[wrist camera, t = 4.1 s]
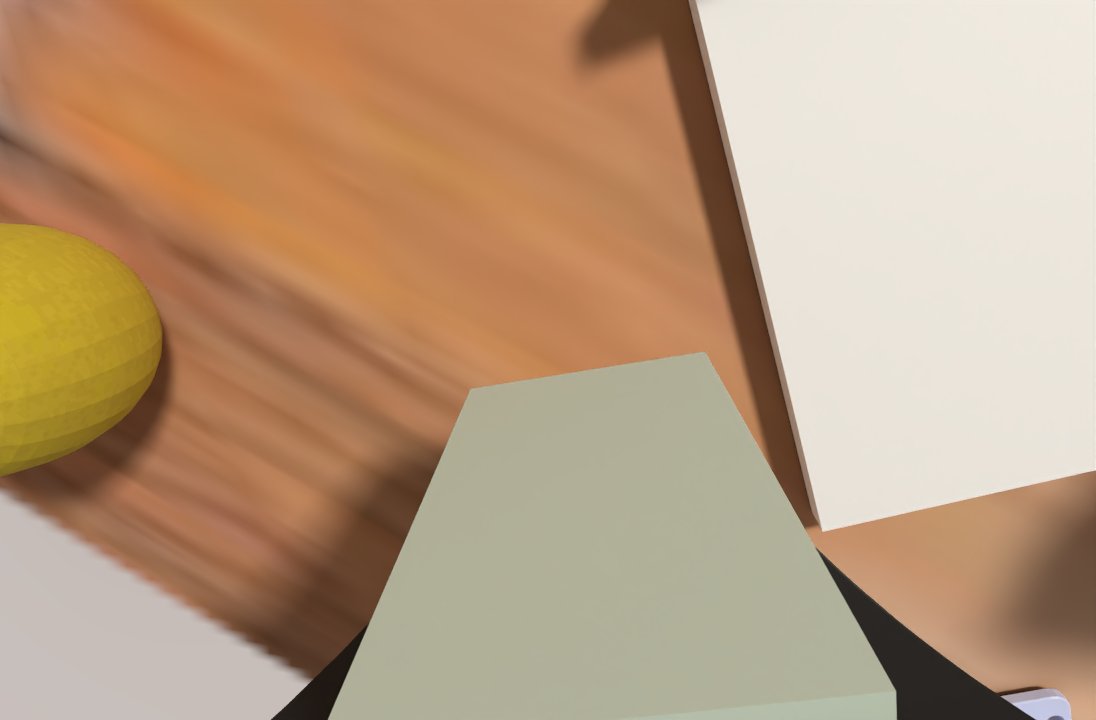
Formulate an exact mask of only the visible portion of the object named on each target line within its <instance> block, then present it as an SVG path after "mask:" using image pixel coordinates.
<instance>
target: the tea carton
mask: <svg viewBox="0 0 1096 720" xmlns="http://www.w3.org/2000/svg"><path fill="white" fill-rule="evenodd" d="M328 720H897V707H896V690H895V688H894V686H893V685H892V683H891V681H890V679H889V678H888V676H887V674H886V672H885V671H884V669H883V667H882V665H881V663H880V662H879V660H878V658H877V656H876V655H875V653H874V651H873V649H872V647H871V646H870V644H869V642H868V640H867V639H866V637H865V635H864V633H863V631H862V630H861V628H860V626H859V624H858V623H857V621H856V619H855V617H854V615H853V614H852V612H851V610H850V608H849V607H848V605H847V603H846V601H845V599H844V598H843V596H842V594H841V592H840V591H839V589H838V587H837V585H836V583H835V582H834V580H833V578H832V576H831V575H830V573H829V571H828V569H827V567H826V566H825V564H824V562H823V560H822V559H821V557H820V555H819V553H818V551H817V550H816V548H815V546H814V544H813V543H812V541H811V539H810V537H809V535H808V534H807V532H806V530H805V528H804V527H803V525H802V523H801V521H800V519H799V518H798V516H797V514H796V512H795V511H794V509H793V507H792V505H791V503H790V502H789V500H788V498H787V496H786V495H785V493H784V491H783V489H782V488H781V486H780V484H779V482H778V480H777V479H776V477H775V475H774V473H773V472H772V470H771V468H770V466H769V464H768V463H767V461H766V459H765V457H764V456H763V454H762V452H761V450H760V448H759V447H758V445H757V443H756V441H755V440H754V438H753V436H752V434H751V432H750V431H749V429H748V427H747V425H746V424H745V422H744V420H743V418H742V416H741V415H740V413H739V411H738V409H737V408H736V406H735V404H734V402H733V400H732V399H731V397H730V395H729V393H728V392H727V390H726V388H725V386H724V384H723V383H722V381H721V379H720V377H719V376H718V374H717V372H716V370H715V368H714V367H713V365H712V363H711V361H710V360H709V358H708V356H707V354H706V352H699V353H693V354H687V355H681V356H674V357H668V358H662V359H655V360H649V361H643V362H637V363H630V364H624V365H618V366H611V367H605V368H599V369H593V370H586V371H580V372H574V373H567V374H561V375H555V376H549V377H542V378H536V379H530V380H523V381H517V382H511V383H505V384H498V385H492V386H486V387H480V388H473V389H470V392H469V394H468V396H467V399H466V401H465V403H464V406H463V408H462V410H461V413H460V415H459V417H458V419H457V422H456V424H455V426H454V429H453V431H452V433H451V436H450V438H449V440H448V443H447V445H446V447H445V450H444V452H443V454H442V457H441V459H440V461H439V463H438V466H437V468H436V470H435V473H434V475H433V477H432V480H431V482H430V484H429V487H428V489H427V491H426V494H425V496H424V498H423V501H422V503H421V505H420V507H419V510H418V512H417V514H416V517H415V519H414V521H413V524H412V526H411V528H410V531H409V533H408V535H407V538H406V540H405V542H404V545H403V547H402V549H401V551H400V554H399V556H398V558H397V561H396V563H395V565H394V568H393V570H392V572H391V575H390V577H389V579H388V582H387V584H386V586H385V589H384V591H383V593H382V595H381V598H380V600H379V602H378V605H377V607H376V609H375V612H374V614H373V616H372V619H371V621H370V623H369V626H368V628H367V630H366V633H365V635H364V637H363V639H362V642H361V644H360V646H359V649H358V651H357V653H356V656H355V658H354V660H353V663H352V665H351V667H350V670H349V672H348V674H347V677H346V679H345V681H344V683H343V686H342V688H341V690H340V693H339V695H338V697H337V700H336V702H335V704H334V707H333V709H332V711H331V714H330V716H329V718H328Z"/></svg>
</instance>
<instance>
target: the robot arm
mask: <svg viewBox="0 0 1096 720" xmlns="http://www.w3.org/2000/svg"><path fill="white" fill-rule="evenodd" d="M815 548H816V547H815ZM816 550H817V551H818V553H819V555H820V557H821V559H822V560H823V562H824V564H825V566H826V567H827V569H828V571H829V573H830V575H831V576H832V578H833V580H834V582H835V583H836V585H837V587H838V589H839V591H840V592H841V594H842V596H843V598H844V599H845V601H846V603H847V605H848V607H849V608H850V610H851V612H852V614H853V615H854V617H855V619H856V621H857V623H858V624H859V626H860V628H861V630H862V631H863V633H864V635H865V637H866V639H867V640H868V642H869V644H870V646H871V647H872V649H873V651H874V653H875V655H876V656H877V658H878V660H879V662H880V663H881V665H882V667H883V669H884V671H885V672H886V674H887V676H888V678H889V679H890V681H891V683H892V685H893V686H894V688H895V690H896V707H897V720H1072V717H1071V709H1070V704H1069V702H1068V700H1067V699H1066V698H1065V697H1064V695H1063V694H1062V693H1061V692H1059V691H1058V690H1055V689H1051V688H1049V689H1039V690H1034V691H1028V692H1022V693H1016V694H1011V695H1005V696H999V695H998V694H996V693H995V692H993V691H992V690H990V689H989V688H987V687H986V686H984V685H983V684H981V683H980V682H978V681H977V680H975V679H974V678H973V677H971V676H970V675H968V674H967V673H966V672H964V671H963V670H961V669H960V668H959V667H957V666H956V665H955V664H953V663H952V662H950V661H949V660H948V659H946V658H945V657H944V656H943V655H941V654H940V653H939V652H937V651H936V650H935V649H933V648H932V647H931V646H929V645H928V644H927V643H926V642H924V641H923V640H922V639H920V638H919V637H918V636H916V635H915V634H914V633H913V632H911V631H910V630H909V629H908V628H906V627H905V626H904V625H903V624H902V623H900V622H899V621H898V620H897V619H895V618H894V617H893V616H892V615H891V614H889V613H888V612H887V611H886V610H885V609H884V608H882V607H881V606H880V605H879V604H878V603H877V602H875V601H874V600H873V599H872V598H871V597H869V596H868V595H867V594H866V593H865V592H864V591H862V590H861V589H860V588H859V587H858V586H857V585H856V584H855V583H853V582H852V581H851V580H850V579H849V578H848V577H847V576H846V575H845V574H843V573H842V572H841V571H840V570H839V569H838V568H837V567H836V566H835V565H834V564H833V563H832V562H831V561H829V560H828V559H827V558H826V557H825V556H824V555H823V554H822V553H821V552H820V551H819V550H818V549H817V548H816ZM369 623H370V622H369ZM368 626H369V624H368V625H367V626H366V627H365V628H364V629H363V630H362V631H361V632H360V633H359V634H358V635H357V636H356V637H355V638H354V639H353V640H352V641H351V643H350V644H349V645H348V646H347V647H346V648H345V649H344V650H343V651H342V652H341V653H340V654H339V655H338V656H337V657H336V658H335V659H334V660H333V661H332V662H331V663H330V664H329V665H328V666H327V667H326V668H325V669H324V670H323V671H322V672H321V673H320V674H318V675H317V676H316V677H315V678H314V679H313V680H312V681H311V682H310V683H309V684H308V685H307V686H306V687H305V688H304V689H303V690H302V691H301V692H300V693H299V694H298V695H297V696H296V697H295V698H294V699H293V700H292V701H291V702H290V703H289V704H288V705H287V706H286V707H284V708H283V709H282V710H281V711H280V712H279V713H278V714H277V715H276V716H275V717H273V719H271V720H328V718H329V716H330V714H331V711H332V709H333V707H334V704H335V702H336V700H337V697H338V695H339V693H340V690H341V688H342V686H343V683H344V681H345V679H346V677H347V674H348V672H349V670H350V667H351V665H352V663H353V660H354V658H355V656H356V653H357V651H358V649H359V646H360V644H361V642H362V639H363V637H364V635H365V633H366V630H367V628H368Z"/></svg>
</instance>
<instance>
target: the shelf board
mask: <svg viewBox="0 0 1096 720" xmlns="http://www.w3.org/2000/svg"><path fill="white" fill-rule="evenodd" d="M688 1H689V5H690V9H691V13H692V18H693V22H694V26H695V30H696V34H697V38H698V42H699V47H700V51H701V55H702V59H703V63H704V67H705V71H706V76H707V80H708V84H709V88H710V92H711V96H712V100H713V105H714V109H715V113H716V117H717V121H718V125H719V129H720V134H721V138H722V142H723V146H724V150H725V154H726V158H727V163H728V167H729V171H730V175H731V179H732V183H733V187H734V191H735V196H736V200H737V204H738V208H739V212H740V216H741V220H742V225H743V229H744V233H745V237H746V241H747V245H748V249H749V254H750V258H751V262H752V266H753V270H754V274H755V278H756V283H757V287H758V291H759V295H760V299H761V303H762V307H763V312H764V316H765V320H766V324H767V328H768V332H769V336H770V341H771V345H772V349H773V353H774V357H775V361H776V365H777V369H778V374H779V378H780V382H781V386H782V390H783V394H784V398H785V403H786V407H787V411H788V415H789V419H790V423H791V427H792V432H793V436H794V440H795V444H796V448H797V452H798V456H799V461H800V465H801V469H802V473H803V477H804V481H805V485H806V490H807V494H808V498H809V502H810V506H811V510H812V513H813V515H814V517H815V519H816V521H817V522H818V524H819V526H820V528H821V530H822V532H824V531H828V530H833V529H837V528H841V527H846V526H850V525H855V524H859V523H864V522H868V521H872V520H877V519H881V518H886V517H890V516H895V515H899V514H903V513H908V512H912V511H917V510H921V509H926V508H930V507H935V506H939V505H943V504H948V503H952V502H957V501H961V500H966V499H970V498H974V497H979V496H983V495H988V494H992V493H997V492H1001V491H1005V490H1010V489H1014V488H1019V487H1023V486H1028V485H1032V484H1037V483H1041V482H1045V481H1050V480H1054V479H1059V478H1063V477H1068V476H1072V475H1076V474H1081V473H1085V472H1090V471H1094V470H1096V0H688Z"/></svg>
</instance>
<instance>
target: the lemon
mask: <svg viewBox="0 0 1096 720" xmlns="http://www.w3.org/2000/svg"><path fill="white" fill-rule="evenodd" d="M161 353H162V327H161V322H160V318H159V313H158V309H157V307H156V305H155V303H154V301H153V298H152V296H151V294H150V292H149V290H148V289H147V288H146V286H145V285H144V284H143V282H142V281H141V280H140V278H139V277H138V276H137V274H136V273H135V272H134V271H133V270H132V269H131V268H129V267H128V266H127V265H126V264H125V263H124V262H123V261H121V260H120V259H119V258H118V257H117V256H116V255H114V254H113V253H111V252H109V251H107V250H106V249H104V248H102V247H100V246H99V245H97V244H95V243H93V242H91V241H90V240H88V239H85V238H82V237H79V236H76V235H73V234H70V233H67V232H64V231H60V230H57V229H54V228H50V227H44V226H37V225H21V224H2V223H0V477H2V476H6V475H9V474H13V473H16V472H19V471H23V470H26V469H29V468H32V467H35V466H39V465H42V464H45V463H48V462H51V461H53V460H56V459H59V458H61V457H63V456H66V455H68V454H70V453H72V452H74V451H76V450H78V449H80V448H82V447H84V446H85V445H87V444H88V443H90V442H91V441H93V440H94V439H96V438H97V437H99V436H100V435H102V434H103V433H104V432H106V431H107V430H109V429H110V428H112V427H113V426H115V425H116V424H117V423H118V422H119V421H121V420H122V419H123V418H124V417H125V416H126V415H127V414H128V413H129V412H130V411H131V410H132V409H133V408H134V406H135V405H136V404H137V403H138V401H139V400H140V398H141V397H142V396H143V394H144V393H145V392H146V390H147V389H148V387H149V386H150V384H151V382H152V380H153V378H154V376H155V373H156V370H157V367H158V364H159V361H160V358H161Z"/></svg>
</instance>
